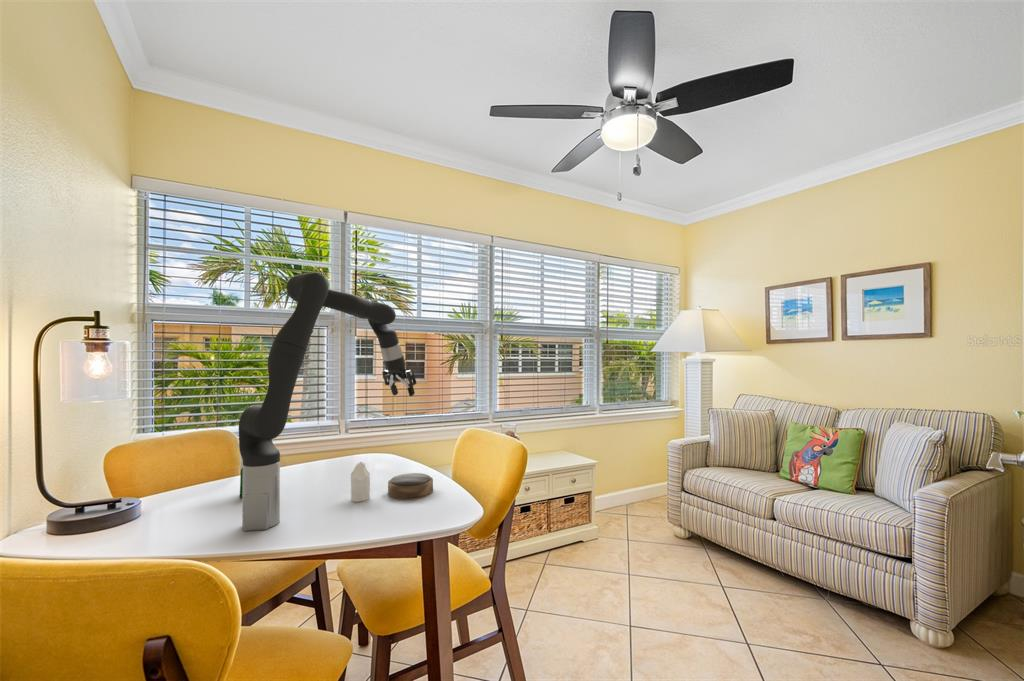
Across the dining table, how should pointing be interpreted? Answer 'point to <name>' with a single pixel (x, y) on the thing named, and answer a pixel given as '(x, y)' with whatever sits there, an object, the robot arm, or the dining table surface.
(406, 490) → the podium
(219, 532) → the dining table surface
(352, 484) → the white tall rounded piece
